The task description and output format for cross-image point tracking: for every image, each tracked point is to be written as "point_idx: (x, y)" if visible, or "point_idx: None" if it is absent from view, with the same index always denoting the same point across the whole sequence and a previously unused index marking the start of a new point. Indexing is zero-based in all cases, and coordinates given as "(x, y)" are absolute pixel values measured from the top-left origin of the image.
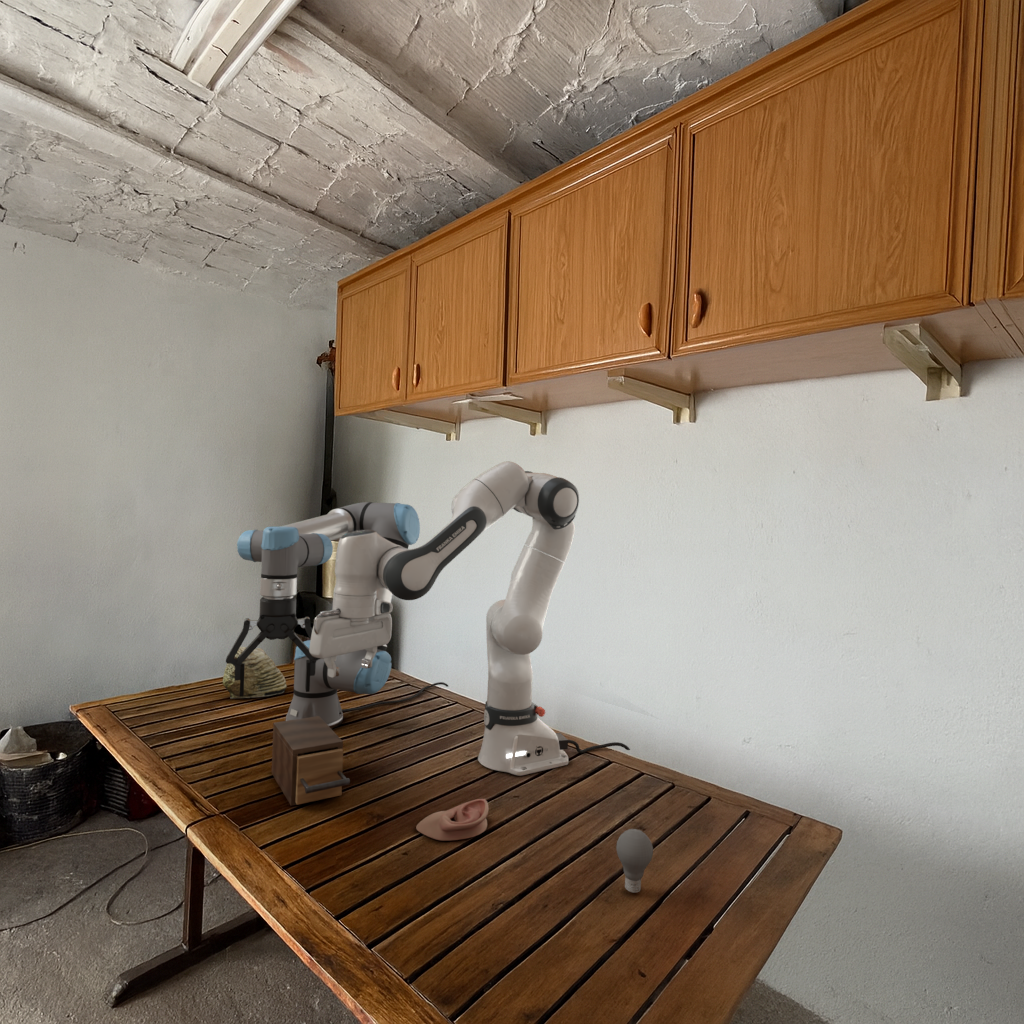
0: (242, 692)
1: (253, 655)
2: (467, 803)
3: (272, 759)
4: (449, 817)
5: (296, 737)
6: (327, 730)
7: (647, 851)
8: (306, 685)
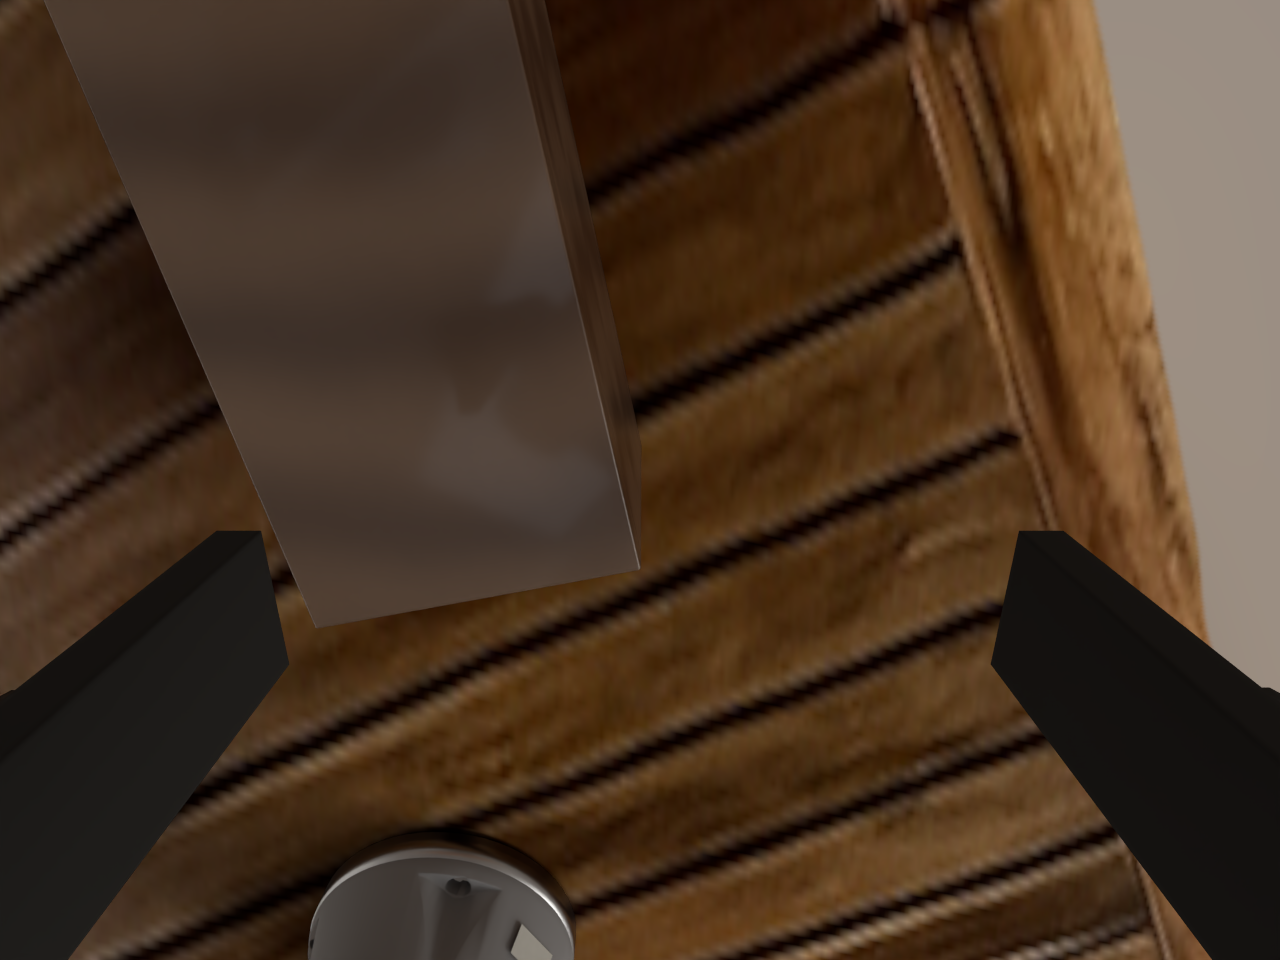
0: (1056, 556)
1: None
2: None
3: (639, 462)
4: None
5: (460, 201)
6: (213, 301)
7: None
8: (208, 570)
